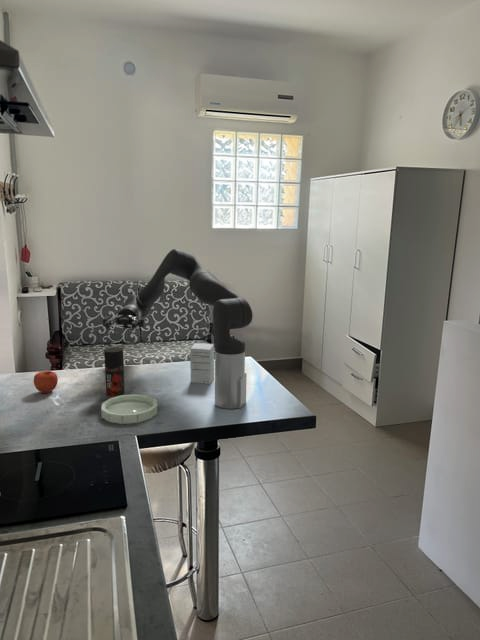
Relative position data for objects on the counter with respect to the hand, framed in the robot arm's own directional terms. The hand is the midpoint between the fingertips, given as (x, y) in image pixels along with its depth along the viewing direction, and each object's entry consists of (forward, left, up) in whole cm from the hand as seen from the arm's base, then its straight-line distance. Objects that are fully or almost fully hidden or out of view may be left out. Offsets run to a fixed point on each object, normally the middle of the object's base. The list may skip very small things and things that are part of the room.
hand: (120, 326), depth 165 cm
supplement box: (-25, -12, -20) cm, 35 cm away
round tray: (-15, +22, -20) cm, 34 cm away
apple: (+19, +16, -20) cm, 32 cm away
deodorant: (-3, +10, -20) cm, 23 cm away
